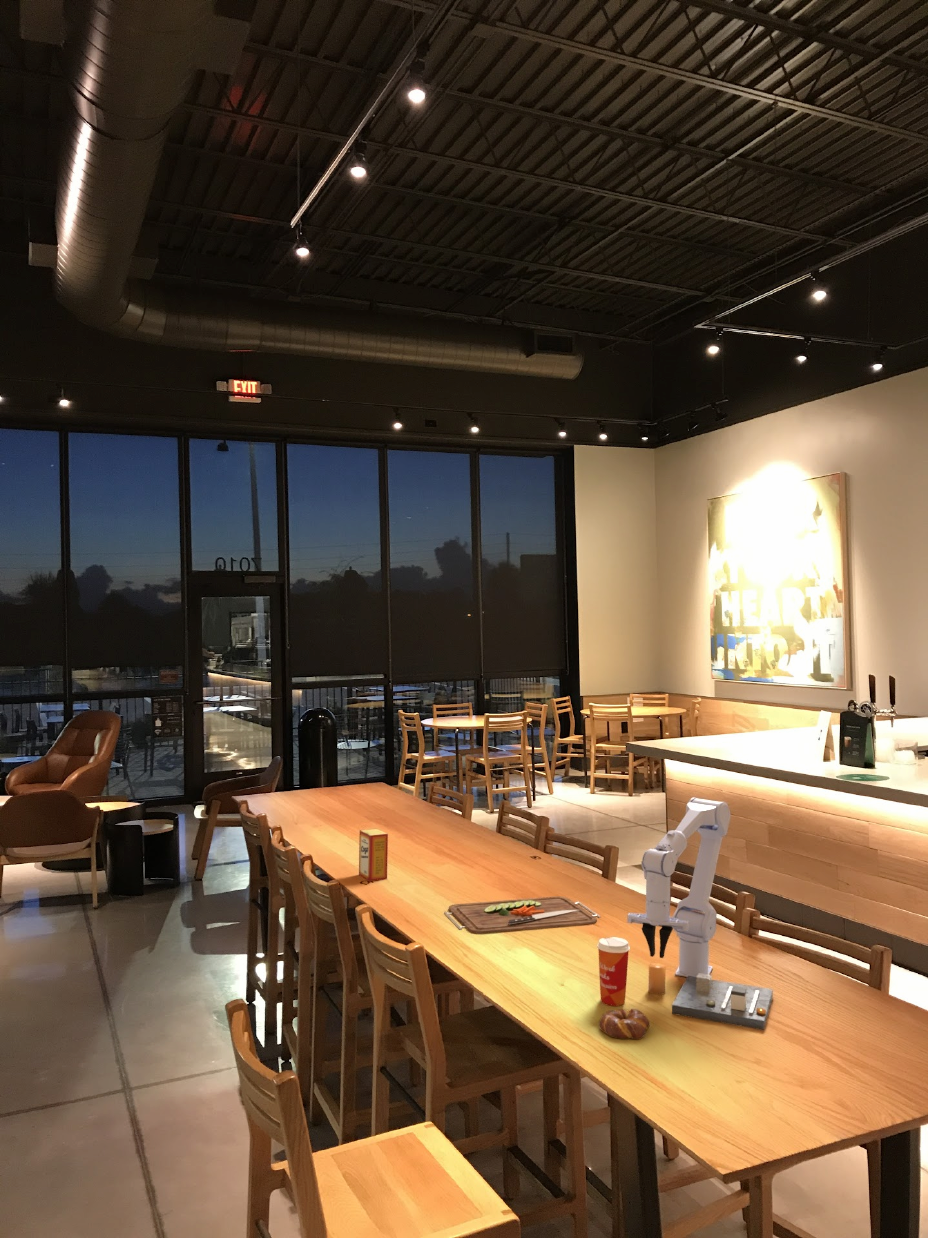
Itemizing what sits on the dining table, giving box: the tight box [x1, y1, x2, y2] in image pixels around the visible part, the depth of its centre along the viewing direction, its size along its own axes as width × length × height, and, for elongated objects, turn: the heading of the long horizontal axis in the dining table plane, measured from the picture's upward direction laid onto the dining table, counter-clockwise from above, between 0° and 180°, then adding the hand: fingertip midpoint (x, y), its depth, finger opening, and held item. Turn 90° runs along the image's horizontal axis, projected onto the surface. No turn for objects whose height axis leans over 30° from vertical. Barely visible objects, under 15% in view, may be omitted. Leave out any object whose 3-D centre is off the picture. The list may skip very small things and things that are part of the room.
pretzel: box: [598, 1008, 650, 1040], centre depth 203 cm, size 12×11×4 cm
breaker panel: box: [671, 973, 774, 1031], centre depth 217 cm, size 20×20×5 cm
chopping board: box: [443, 896, 601, 935], centre depth 284 cm, size 45×27×3 cm, turn 108°
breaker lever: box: [731, 986, 746, 1011], centre depth 211 cm, size 3×3×4 cm
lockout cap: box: [647, 962, 666, 995], centre depth 225 cm, size 4×4×6 cm
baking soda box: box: [358, 828, 389, 882], centre depth 325 cm, size 10×6×16 cm
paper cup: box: [596, 936, 631, 1007], centre depth 219 cm, size 8×8×14 cm
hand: (657, 956), depth 225 cm, fingers closed
